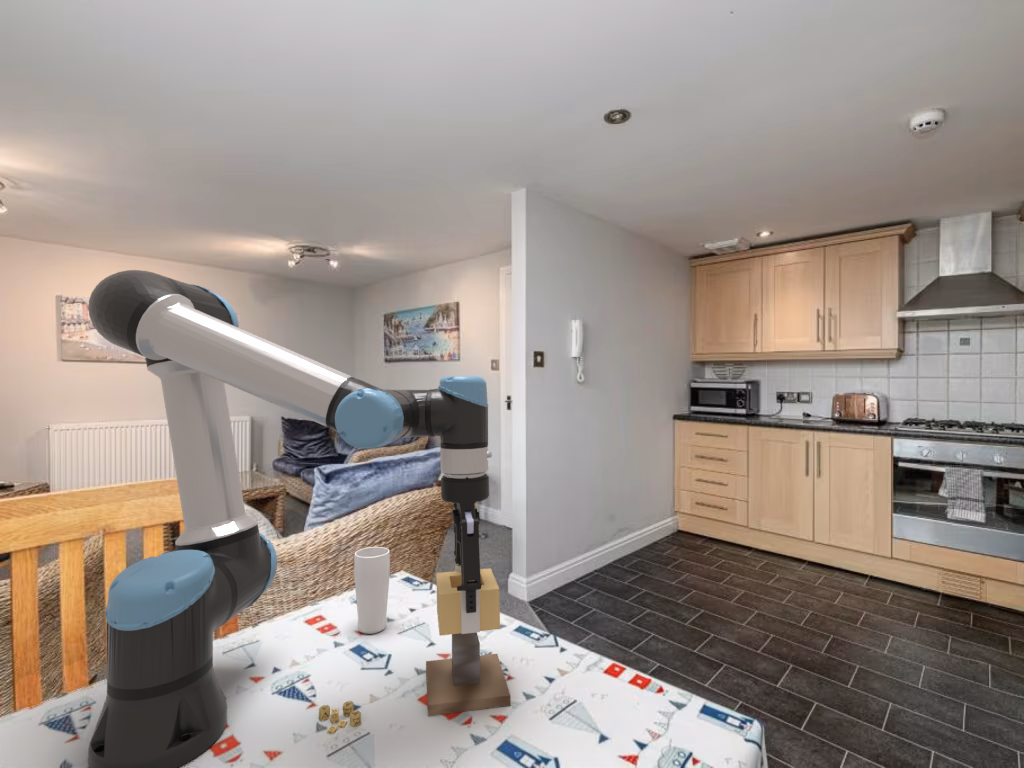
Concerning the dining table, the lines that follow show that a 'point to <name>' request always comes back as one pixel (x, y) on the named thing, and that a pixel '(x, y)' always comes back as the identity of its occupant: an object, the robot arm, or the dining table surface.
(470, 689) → the post base
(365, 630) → the drinking glass
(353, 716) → the dice set
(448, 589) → the collar
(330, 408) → the robot arm
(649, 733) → the dining table surface
